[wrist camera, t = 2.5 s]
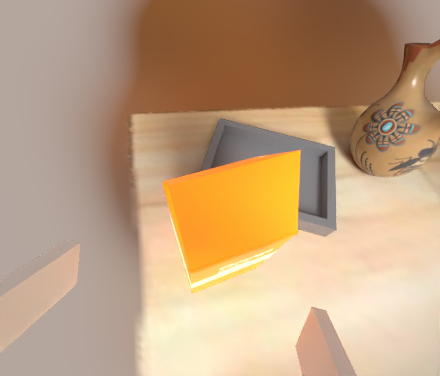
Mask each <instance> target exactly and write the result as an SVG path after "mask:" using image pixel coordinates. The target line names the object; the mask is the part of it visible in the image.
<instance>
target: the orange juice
mask: <svg viewBox="0 0 440 376" xmlns="http://www.w3.org/2000/svg"><path fill="white" fill-rule="evenodd" d="M299 173H300V150H298V151H292V152H285V153H279V154H273V155H266V156H260V157H254V158H250V159H247V160H243V161H239V162H235V163H231V164H228V165H224V166H220V167H216V168H212V169H209V170H205V171H201V172H197V173H193V174H189V175H186V176H182V177H178V178H174V179H170V180H167V181H163V182H162V183H163V187H164V191H165V195H166V199H167V203H168V208H169V214H170V218H171V222H172V225H173V228H174V233H175V237H176V240H177V244H178V247H179V250H180V254H181V257H182V260H183V264H184V267H185V270H186V274H187V277H188V281H189V284H190V287H191V291H192V293H195V292H197V291H200V290H202V289H205V288H207V287H210V286H212V285H215V284H217V283H220V282H222V281H225V280H227V279H230V278H232V277H235V276H237V275H240V274H242V273H245V272H247V271H250V270H252V269H255V268H256V267H257V266H259V265H260V264H261V263H262V262H263V261H264V260H266V259H267V258H269V257H270V256H271V255H272V254H274V253H275V251H276V250H278V249H279V248H280V247H281V246H282V245H283V244H285V243H286V242H287V241H288V240H289V239H291V238H292V237H293V236H294V235H296V234H297V233H298V230H297V226H298V200H299Z"/></svg>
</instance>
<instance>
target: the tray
mask: <svg viewBox="0 0 440 376" xmlns="http://www.w3.org/2000/svg"><path fill="white" fill-rule="evenodd" d="M298 150H300V173H299V200H298V226H297V229H299V230H303V231H306V232H310V233H314V234H318V235H321V236H327V235H328V234H330V233H332V232H333V231H335V230H336V186H335V147H332V146H328V145H324V144H320V143H316V142H312V141H308V140H304V139H300V138H296V137H292V136H288V135H284V134H280V133H276V132H273V131H269V130H265V129H261V128H257V127H253V126H249V125H245V124H241V123H237V122H233V121H229V120H225V119H221V118H220V119H219V122H218V125H217V127H216V130H215V133H214V136H213V138H212V141H211V144H210V147H209V149H208V152H207V155H206V158H205V161H204V163H203V166H202V169H201V171H205V170H209V169H212V168H216V167H220V166H224V165H228V164H231V163H235V162H239V161H243V160H247V159H250V158H254V157H260V156H266V155H273V154H279V153H285V152H292V151H298Z"/></svg>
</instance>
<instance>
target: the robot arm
mask: <svg viewBox="0 0 440 376" xmlns="http://www.w3.org/2000/svg"><path fill="white" fill-rule="evenodd" d="M80 245H81V243H80V242H76V241H73V240H69V239H67V240H66V241H64V242H62V243H61V244H59V245H57V246H56V247H54V248H52V249H51V250H49V251H48V252H46V253H44V254H42V255H41V256H39V257H38V258H36V259H34V260H33V261H31V262H29V263H27V264H26V265H24V266H22V267H21V268H19V269H17V270H16V271H14V272H12V273H11V274H9V275H7V276H6V277H4V278H2V279H1V280H0V353H1V352H2V351H3V350H4V349H5V348H6V347H8V346H9V345H10V344H11V343H12V342H13V341H14V340H15V339H16V338H18V337H19V336H20V335H21V334H22V333H23V332H24V331H25V330H26V329H28V328H29V327H30V326H31V325H32V324H33V323H34V322H35V321H36V320H37V319H38V318H40V317H41V316H42V315H43V314H44V313H45V312H46V311H47V310H49V309H50V308H51V307H52V306H53V305H54V304H55V303H56V302H57V301H58V300H60V299H61V298H62V297H63V296H64V295H65V294H66V293H67V292H68V291H70V290H71V289H72V288H73V287H74V286H75V285H76V284H77V277H78V266H79V256H80ZM296 350H297V354H298V358H299V362H300V366H301V370H302V374H303V376H356V374H355V372H354V369H353V367H352V365H351V363H350V361H349V359H348V357H347V354H346V352H345V350H344V348H343V346H342V344H341V342H340V340H339V337H338V335H337V333H336V331H335V329H334V327H333V325H332V322H331V320H330V318H329V316H328V314H327V312H326V311H325V310H322V309H318V308H315V307H312V308H311V310H310V313H309V315H308V317H307V320H306V322H305V325H304V327H303V329H302V332H301V334H300V337H299V339H298V341H297V344H296Z"/></svg>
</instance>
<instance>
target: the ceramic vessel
mask: <svg viewBox="0 0 440 376" xmlns="http://www.w3.org/2000/svg"><path fill="white" fill-rule="evenodd" d="M439 59H440V40H438V41H436V42H434V43H432V44H430V43H406V44H405V48H404V59H403V66H402V70H401V74H400V76H399V78H398V80H397V82H396V83H395V85H394V86H393V88H392V89H391V91H389V93H388V94H386V95H385V96H384V97H383V98H381V99H379V100H378V101H376V102H374V103H373V104H372V105H370V106H369V107H368V108H367V109H366V110H365V111H364V112H363V113H362V114H361V115H360V117H359V118H358V120H357V121H356V123H355V125H354V127H353V130H352V133H351V137H350V150H351V154H352V157H353V159H354V161H355V163H356V164H357V165H358V167H359V168H361V169H362V170H363V171H365V172H367V173H369V174H371V175H374V176H379V177H395V176H400V175H404V174H407V173H409V172H411V171H413V170H415V169H417V168H418V167H420V166H421V165H423V164H424V163H425V162H426V161H427V160H428V159H429V158H430V157H431V156H432V155H433V154H434V152H435V151H436V149H437V148H438V146H439V145H440V111H438V110H437V109H436V108H435V107H434V106H433V105H432V104H431V103H430V102H429V101H428V100H427V98H426V96H425V91H424V86H425V80H426V78H427V75H428V73H429V72H430V70H431V69H432V67H433V66H434V65H435V63H436V62H437V61H438V60H439Z"/></svg>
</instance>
